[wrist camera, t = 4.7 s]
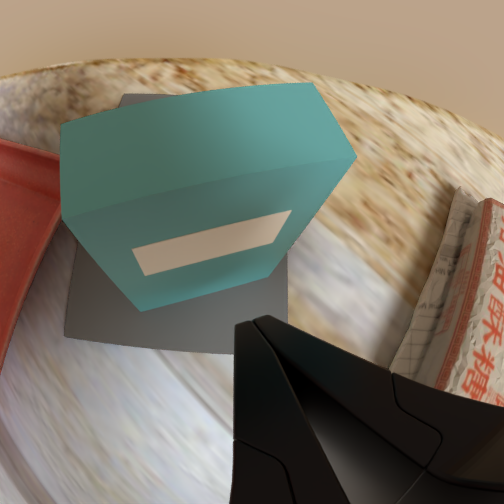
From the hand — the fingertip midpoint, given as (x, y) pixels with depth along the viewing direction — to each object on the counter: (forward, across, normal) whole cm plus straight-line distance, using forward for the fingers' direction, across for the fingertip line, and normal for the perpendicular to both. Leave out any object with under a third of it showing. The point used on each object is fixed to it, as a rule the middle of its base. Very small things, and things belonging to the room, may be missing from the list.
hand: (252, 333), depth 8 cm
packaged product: (+3, -16, +9) cm, 19 cm away
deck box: (+8, 0, +3) cm, 9 cm away
